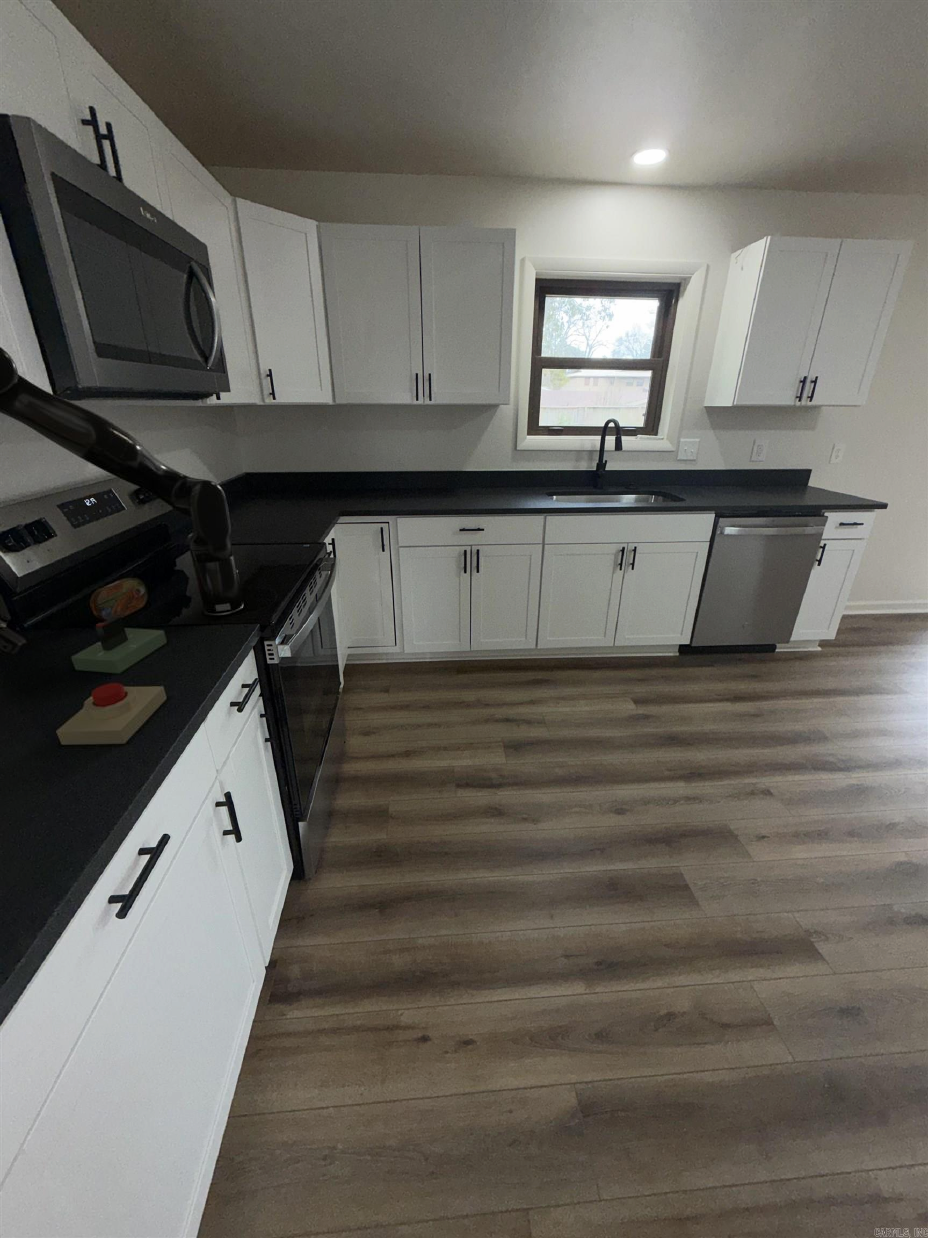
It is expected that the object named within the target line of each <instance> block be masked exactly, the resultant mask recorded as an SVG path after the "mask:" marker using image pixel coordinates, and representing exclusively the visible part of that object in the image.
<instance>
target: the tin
mask: <svg viewBox="0 0 928 1238" xmlns="http://www.w3.org/2000/svg"><path fill="white" fill-rule="evenodd" d="M148 597H149V591H148V588H147V585H146V584H145V583H144V581H143V580H141V579H139V578H137V577H127V578H121V579H119V580H117V581H115V582H113V583H112V582H111V583H110V584H107V585H105V586H103V587H100V588H98V589H96V590H95V591H94V592H93V593H92V595H91V597H90V600H89V606H90V609H91V612H92V614H93V615H94V617H95V618H96V619H99V620H101V621H106V620H108V619H110V618H112V617H114V616H116V617H121V619H123V618H125V617H126V616H129V615H131V614H132V613H134V612H136V611H138V610H140V609H142V608H143V607H144V606H145V605H146V603H147V601H148Z"/></svg>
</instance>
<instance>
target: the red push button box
mask: <svg viewBox="0 0 928 1238" xmlns="http://www.w3.org/2000/svg"><path fill="white" fill-rule="evenodd" d="M123 688H124V691H125V694H126V698H125V699H124V700H122V701H120V702H118V703H116V704H113V705H109V706H105V707H97V706H96V705H95V703H94V700H93V697H92V695H91V696H90V697H89V698H88V697H87V699H86V700H85V701H84V703H83V707H82V709H80V710H79V711H78V712H77V713H76V714H75V715H73V716H72V717H71V718H70V719H68V720H67V721H66V722H64V724H62V726H60V727H59V728H58V729H57V730H56V731H55V732H56V735H57V737H58V739H59V741H60V742H59V743H60V744H61V745H62V746H63V745H64V746H66V745H67V746H68V745H121V744H126V743H127V742H128V741H129V740H130V738H132V736H133V735H135V733H137V731H138V730H139V729H140V728H141V727H142V726H143V725H144V724H145V723H146V721H147V720H148V719H149V718H150V717H151V716H152V715H153V714H154V713H155V712H156V711H157V710H158V709H159V708H160V706H161V705H163V703H164V702H165V701H166V700H167V699H168V698H167V694H166V690H165V688H164V686H163V685H162V686H160V685H159V686H157V685H156V686H123Z"/></svg>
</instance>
